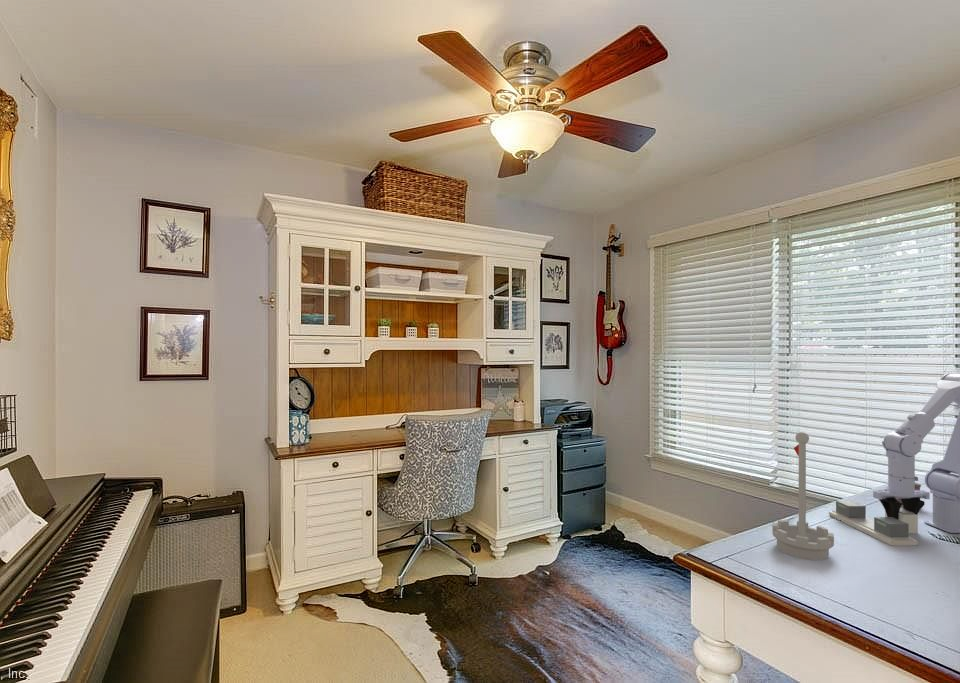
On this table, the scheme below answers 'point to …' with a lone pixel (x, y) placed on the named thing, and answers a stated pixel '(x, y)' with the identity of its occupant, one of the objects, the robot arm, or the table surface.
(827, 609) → the table surface
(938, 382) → the robot arm
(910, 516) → the module block
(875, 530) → the board
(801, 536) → the flag stand
